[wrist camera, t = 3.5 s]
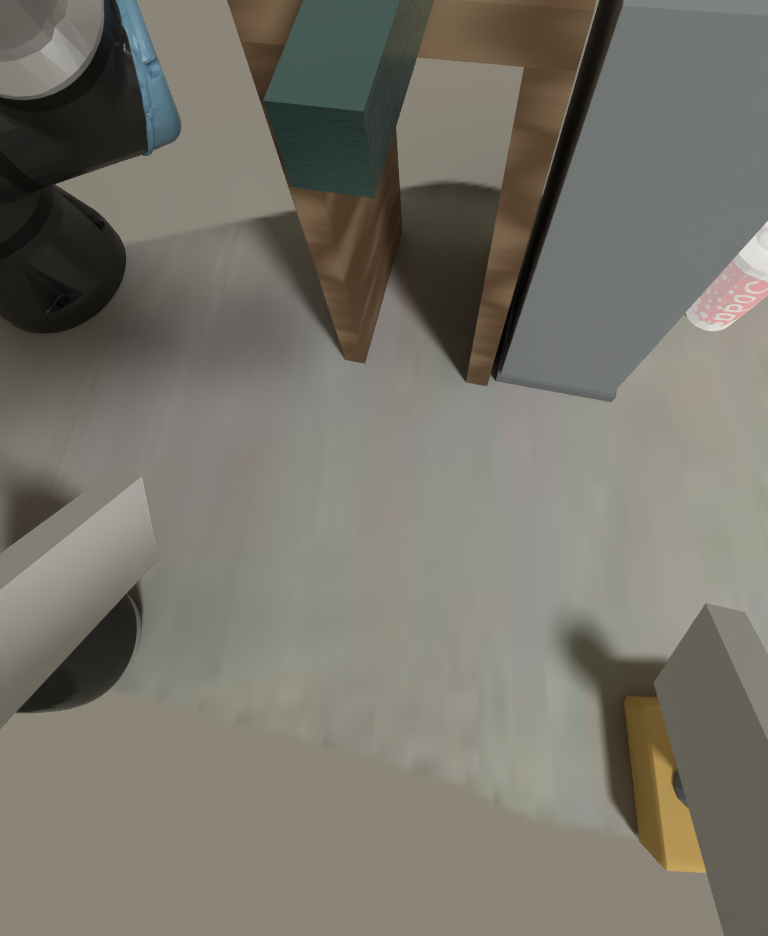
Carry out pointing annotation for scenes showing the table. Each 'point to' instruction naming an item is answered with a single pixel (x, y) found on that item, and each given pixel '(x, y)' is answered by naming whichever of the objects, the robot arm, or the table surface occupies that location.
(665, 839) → the rubber stamp
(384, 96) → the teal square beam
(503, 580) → the table surface
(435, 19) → the riser
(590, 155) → the pedestal
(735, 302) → the beverage cup
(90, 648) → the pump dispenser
